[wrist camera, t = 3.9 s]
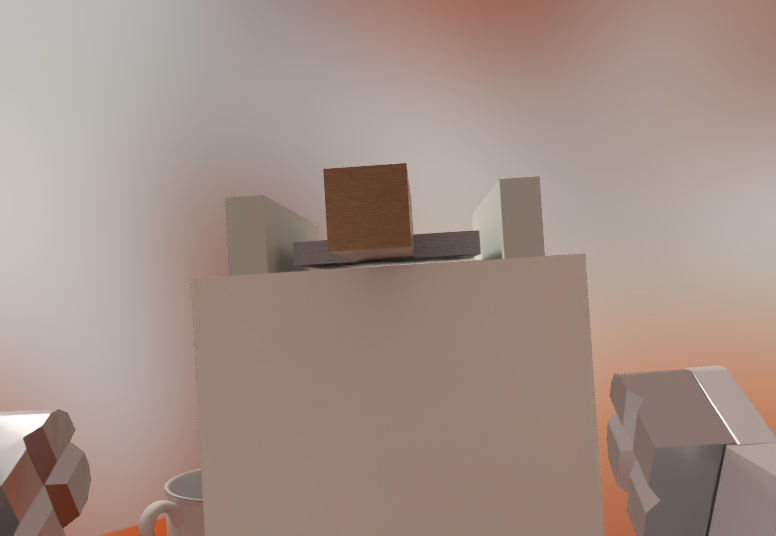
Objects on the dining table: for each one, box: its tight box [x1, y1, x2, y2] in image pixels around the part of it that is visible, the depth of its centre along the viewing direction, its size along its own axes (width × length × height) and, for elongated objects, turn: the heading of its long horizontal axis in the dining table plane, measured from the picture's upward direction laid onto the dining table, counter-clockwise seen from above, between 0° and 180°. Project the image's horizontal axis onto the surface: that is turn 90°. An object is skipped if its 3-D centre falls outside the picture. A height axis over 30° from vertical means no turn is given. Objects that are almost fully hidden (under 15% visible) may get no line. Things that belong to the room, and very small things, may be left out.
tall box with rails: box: [191, 177, 604, 536], centre depth 35 cm, size 15×16×29 cm
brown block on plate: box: [292, 163, 481, 269], centre depth 29 cm, size 18×8×2 cm, turn 177°
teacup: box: [139, 469, 205, 536], centre depth 63 cm, size 14×11×8 cm
